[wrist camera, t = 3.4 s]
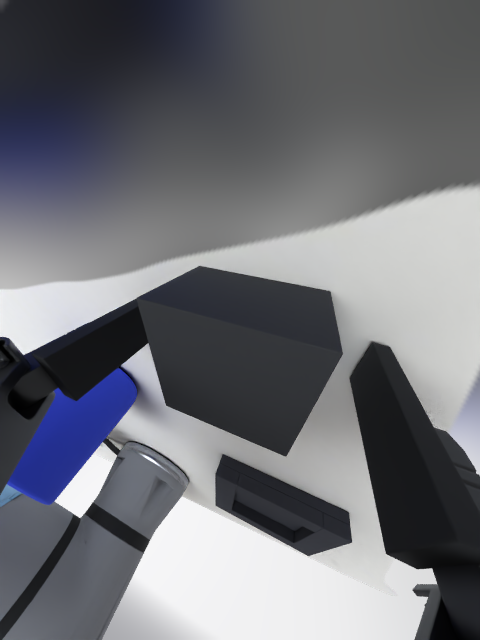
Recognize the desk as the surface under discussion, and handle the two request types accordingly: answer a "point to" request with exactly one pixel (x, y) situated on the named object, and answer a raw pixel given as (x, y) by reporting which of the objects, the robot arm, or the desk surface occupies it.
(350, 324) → the desk surface
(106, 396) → the mug
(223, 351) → the dark gray rectangular block
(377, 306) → the desk surface
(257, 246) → the desk surface
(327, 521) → the base pad
